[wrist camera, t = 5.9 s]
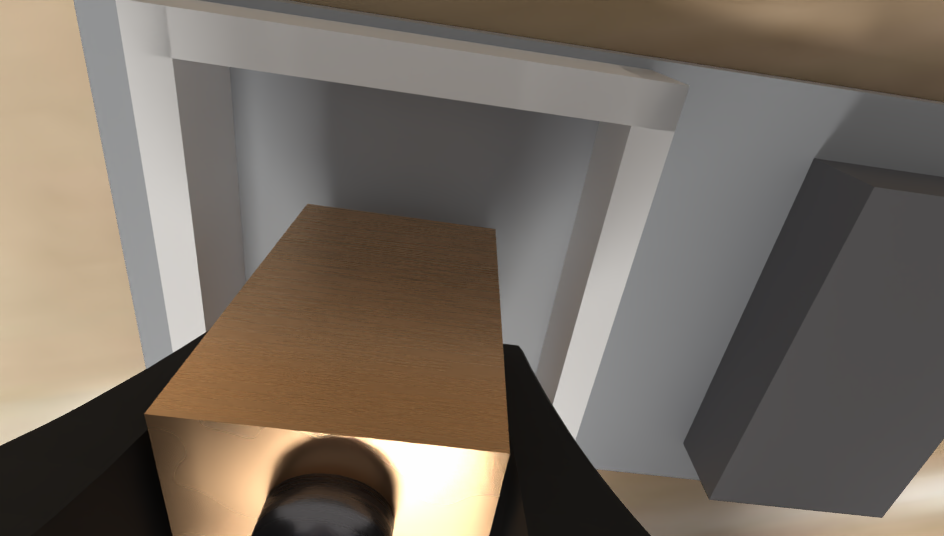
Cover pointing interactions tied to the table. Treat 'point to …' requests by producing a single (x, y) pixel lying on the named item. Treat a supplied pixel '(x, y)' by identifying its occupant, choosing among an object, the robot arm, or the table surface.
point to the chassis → (565, 223)
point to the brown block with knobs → (344, 388)
